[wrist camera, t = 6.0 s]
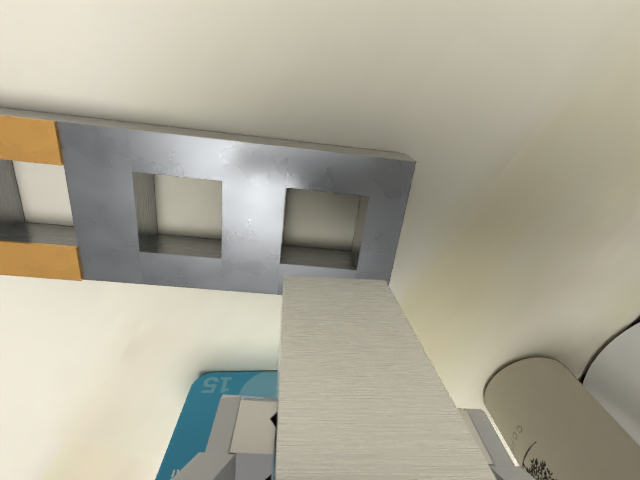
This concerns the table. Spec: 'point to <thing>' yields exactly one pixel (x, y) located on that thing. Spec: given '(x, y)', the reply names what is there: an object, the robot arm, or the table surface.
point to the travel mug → (558, 425)
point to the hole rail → (193, 162)
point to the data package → (209, 413)
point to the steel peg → (362, 391)
